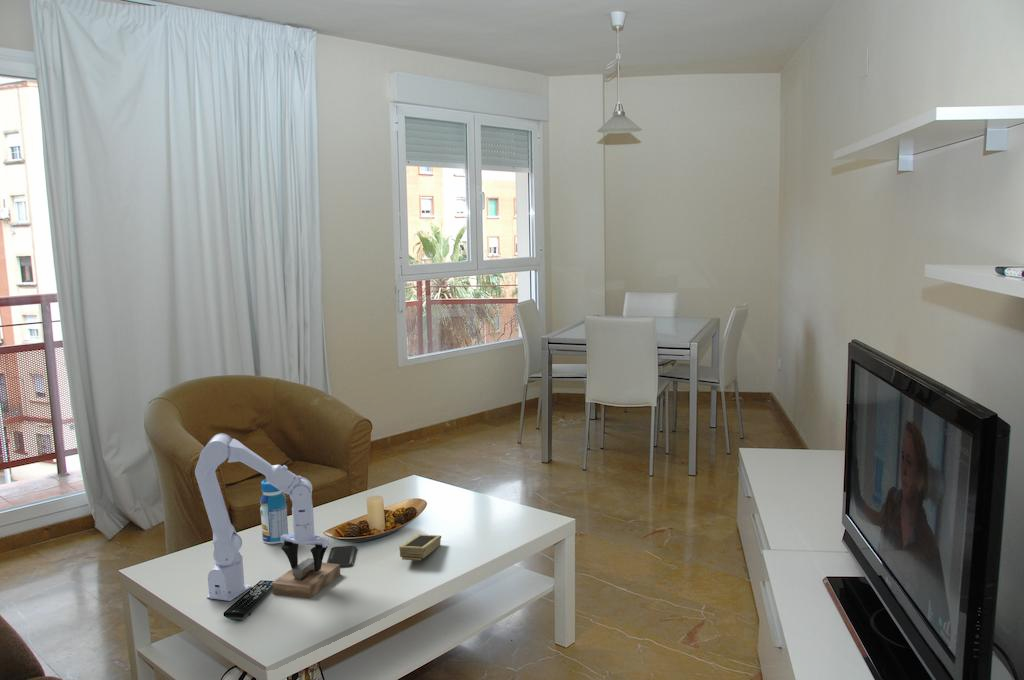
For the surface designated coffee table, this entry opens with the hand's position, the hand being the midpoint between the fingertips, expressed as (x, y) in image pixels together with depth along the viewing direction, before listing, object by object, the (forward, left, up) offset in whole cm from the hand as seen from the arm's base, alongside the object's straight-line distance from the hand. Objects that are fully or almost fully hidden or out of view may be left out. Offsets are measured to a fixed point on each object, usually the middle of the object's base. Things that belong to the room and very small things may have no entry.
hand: (306, 568), depth 224 cm
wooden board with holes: (0, 0, -4) cm, 4 cm away
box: (+28, -23, -5) cm, 37 cm away
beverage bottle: (+27, +29, -5) cm, 40 cm away
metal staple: (0, 0, -4) cm, 4 cm away
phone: (+19, 0, -5) cm, 20 cm away
